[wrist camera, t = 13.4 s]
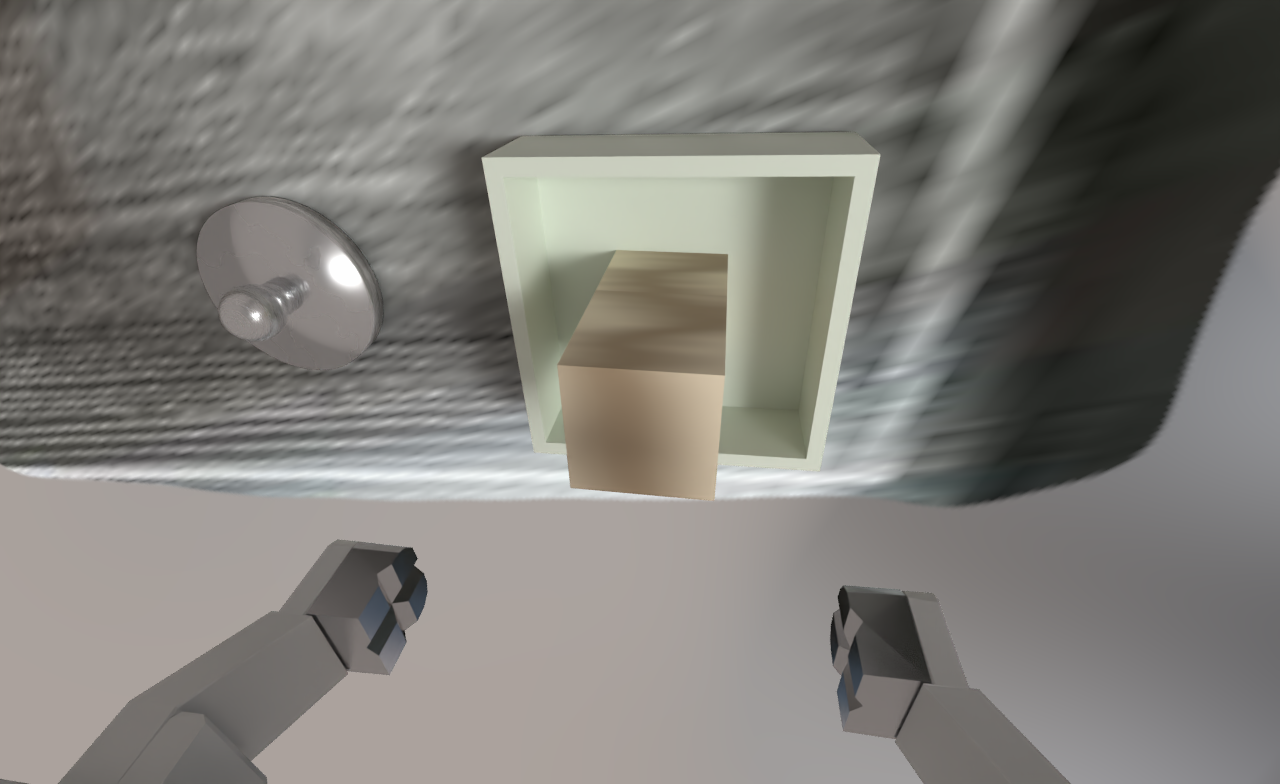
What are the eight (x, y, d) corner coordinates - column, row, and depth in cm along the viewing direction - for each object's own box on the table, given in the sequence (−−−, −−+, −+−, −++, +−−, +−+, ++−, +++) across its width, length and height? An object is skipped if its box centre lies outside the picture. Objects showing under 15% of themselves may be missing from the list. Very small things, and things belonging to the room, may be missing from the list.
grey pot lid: (242, 155, 23) (154, 179, 19) (411, 281, 25) (359, 323, 21) (195, 288, 27) (115, 327, 23) (345, 387, 29) (292, 437, 25)
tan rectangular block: (728, 254, 22) (725, 375, 14) (720, 352, 24) (714, 500, 17) (616, 250, 22) (557, 365, 15) (619, 347, 25) (570, 488, 17)
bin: (521, 135, 21) (481, 157, 18) (855, 131, 19) (880, 154, 16) (558, 400, 27) (534, 452, 24) (808, 413, 26) (820, 471, 22)
